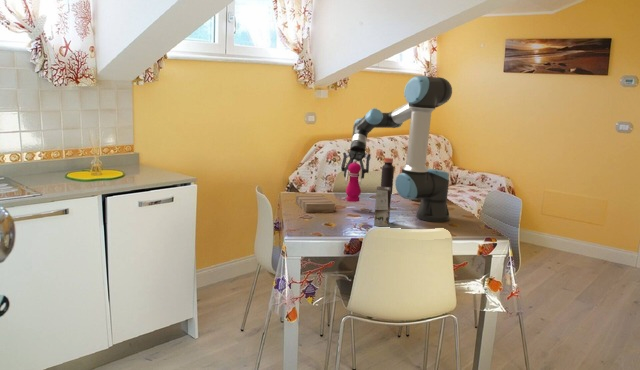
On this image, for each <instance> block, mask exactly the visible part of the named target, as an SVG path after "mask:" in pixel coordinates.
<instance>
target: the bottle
mask: <svg viewBox="0 0 640 370" xmlns="http://www.w3.org/2000/svg"><path fill="white" fill-rule="evenodd" d="M383 161H384V162H383V163H384V164H382V168H381V179H380V180H381V181H380V187H391V194H393V189H394V188H393V185H394V173H395V167H394V165H393V162H394V158H393V157H385V158H384V160H383Z"/></svg>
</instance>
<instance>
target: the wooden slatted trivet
mask: <svg viewBox="0 0 640 370" xmlns="http://www.w3.org/2000/svg"><path fill="white" fill-rule="evenodd" d="M295 204H296V205H297V206H298V207H299V208H300V209H301V210H303V211H304V212H305V213H335V208H336V204H335V202H333V201H332V200H331V199H329V198H327V197H326V196H324V194H308V195H307V194H306V195H305V194H297V195H295Z"/></svg>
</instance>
